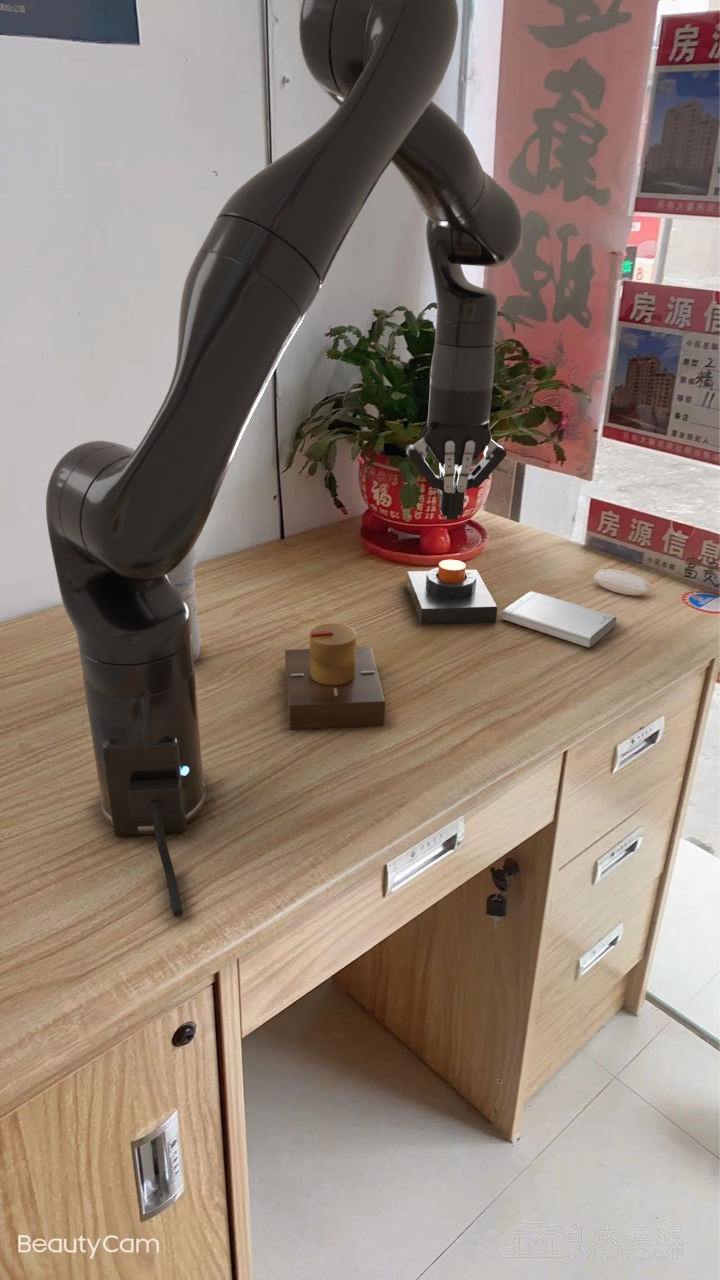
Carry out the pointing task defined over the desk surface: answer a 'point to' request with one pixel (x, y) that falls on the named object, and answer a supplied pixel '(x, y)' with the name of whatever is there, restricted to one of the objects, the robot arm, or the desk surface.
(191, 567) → the bottle
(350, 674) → the dial
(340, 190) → the robot arm
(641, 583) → the white oval capsule
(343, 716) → the dial panel
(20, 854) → the desk surface
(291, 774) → the desk surface
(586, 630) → the hard drive
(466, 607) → the push button base
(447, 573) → the orange push button
